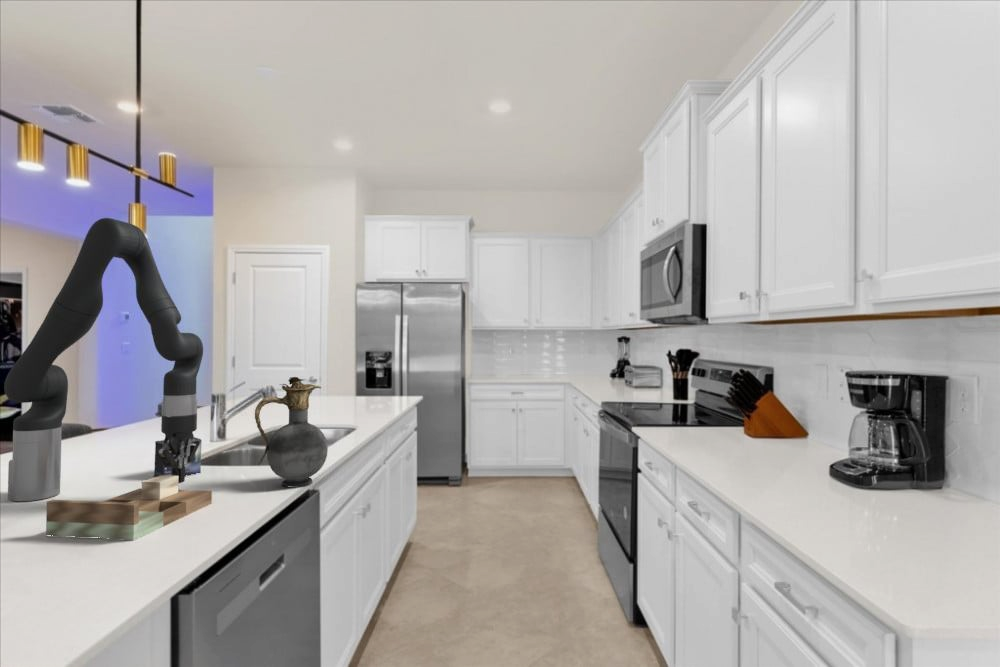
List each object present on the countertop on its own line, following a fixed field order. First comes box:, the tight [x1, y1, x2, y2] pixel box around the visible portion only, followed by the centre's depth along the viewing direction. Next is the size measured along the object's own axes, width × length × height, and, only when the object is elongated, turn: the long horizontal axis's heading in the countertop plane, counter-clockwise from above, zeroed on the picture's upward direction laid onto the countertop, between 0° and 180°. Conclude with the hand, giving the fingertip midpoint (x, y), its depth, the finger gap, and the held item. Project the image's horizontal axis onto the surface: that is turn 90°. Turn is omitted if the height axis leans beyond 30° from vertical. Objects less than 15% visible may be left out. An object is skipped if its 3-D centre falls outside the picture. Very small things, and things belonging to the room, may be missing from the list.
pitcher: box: [254, 376, 329, 487], centre depth 144 cm, size 11×19×30 cm, turn 126°
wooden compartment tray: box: [45, 487, 213, 541], centre depth 116 cm, size 19×24×7 cm
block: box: [141, 475, 179, 500], centre depth 123 cm, size 4×6×4 cm
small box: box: [153, 436, 203, 478], centre depth 153 cm, size 11×6×10 cm, turn 143°
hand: (178, 482), depth 129 cm, fingers closed
